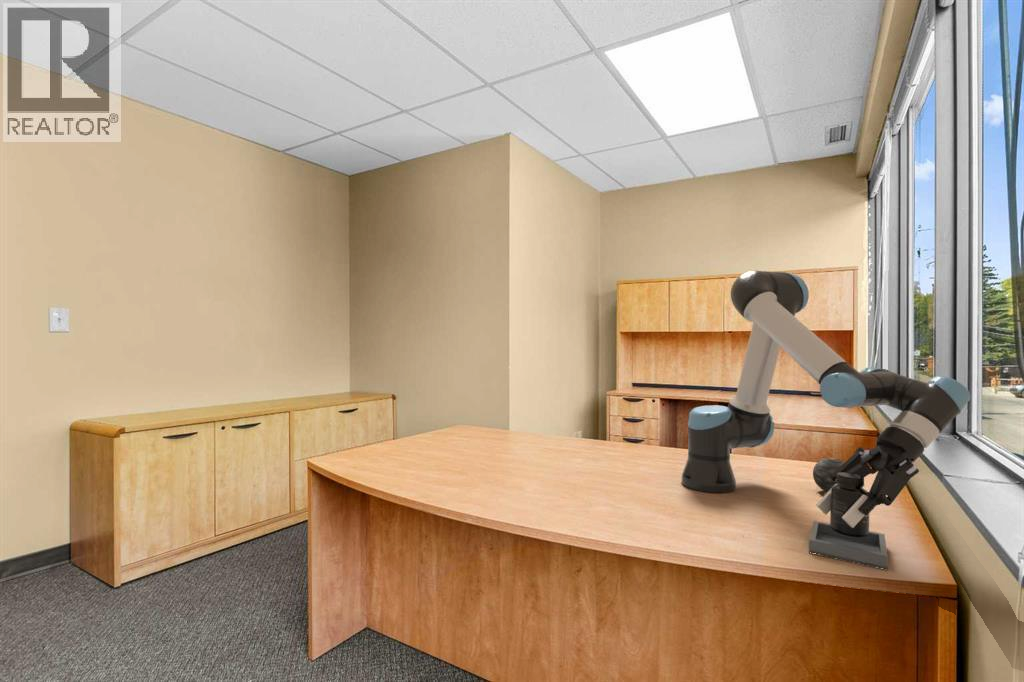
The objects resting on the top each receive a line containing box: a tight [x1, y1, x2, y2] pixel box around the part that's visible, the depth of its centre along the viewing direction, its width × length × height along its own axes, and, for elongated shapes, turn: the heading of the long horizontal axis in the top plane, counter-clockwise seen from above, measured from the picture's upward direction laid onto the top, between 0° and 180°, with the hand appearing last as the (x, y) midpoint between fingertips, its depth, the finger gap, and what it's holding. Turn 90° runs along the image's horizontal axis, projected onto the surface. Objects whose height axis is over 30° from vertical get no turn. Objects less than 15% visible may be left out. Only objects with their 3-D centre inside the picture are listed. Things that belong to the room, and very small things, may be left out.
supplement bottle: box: [829, 472, 870, 537], centre depth 105 cm, size 7×7×12 cm
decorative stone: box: [812, 457, 846, 493], centre depth 144 cm, size 10×10×10 cm
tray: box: [808, 520, 889, 570], centre depth 106 cm, size 13×13×3 cm
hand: (833, 515), depth 105 cm, fingers closed on supplement bottle, 7 cm apart
